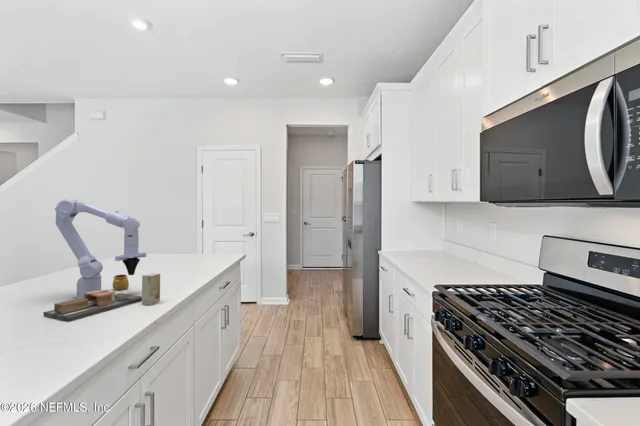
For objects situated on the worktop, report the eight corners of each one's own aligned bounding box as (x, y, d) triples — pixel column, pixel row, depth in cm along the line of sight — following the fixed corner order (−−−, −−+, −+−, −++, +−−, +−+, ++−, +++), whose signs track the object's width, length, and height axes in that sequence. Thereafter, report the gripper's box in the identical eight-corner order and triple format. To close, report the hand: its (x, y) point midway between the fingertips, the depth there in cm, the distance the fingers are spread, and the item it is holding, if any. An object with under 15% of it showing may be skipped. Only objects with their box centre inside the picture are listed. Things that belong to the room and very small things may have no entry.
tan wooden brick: (53, 311, 127) (53, 300, 127) (104, 298, 145) (104, 289, 145) (64, 313, 125) (64, 302, 125) (114, 300, 143) (114, 290, 143)
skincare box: (150, 305, 144) (150, 275, 144) (141, 304, 145) (141, 275, 144) (160, 301, 150) (160, 273, 150) (151, 300, 151) (151, 272, 151)
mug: (128, 290, 169) (129, 276, 169) (112, 291, 166) (112, 277, 166) (128, 285, 180) (128, 272, 180) (112, 286, 176) (113, 272, 176)
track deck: (43, 316, 128) (43, 300, 128) (121, 296, 157) (122, 283, 157) (68, 321, 122) (68, 304, 122) (144, 300, 152) (144, 286, 151)
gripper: (123, 247, 150) (122, 278, 150) (151, 243, 164) (151, 272, 164) (111, 246, 153) (111, 277, 153) (140, 243, 166) (140, 271, 167)
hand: (131, 274), depth 159 cm, fingers closed
